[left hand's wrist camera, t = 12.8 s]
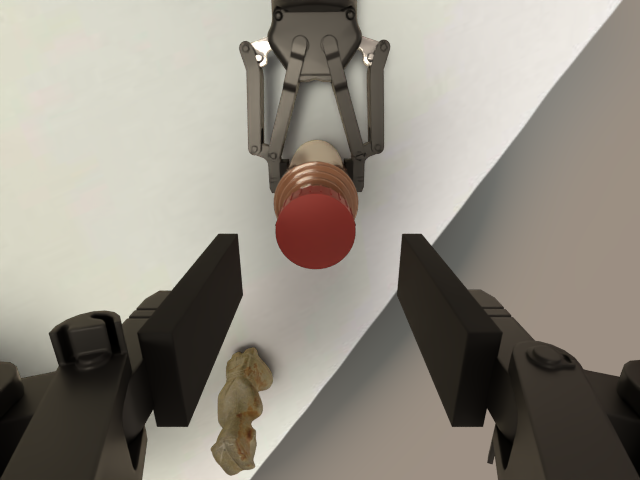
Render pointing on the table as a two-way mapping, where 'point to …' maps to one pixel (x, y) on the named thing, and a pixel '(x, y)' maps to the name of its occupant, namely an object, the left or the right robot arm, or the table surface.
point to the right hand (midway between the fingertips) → (317, 221)
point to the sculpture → (240, 411)
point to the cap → (315, 227)
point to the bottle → (316, 174)
